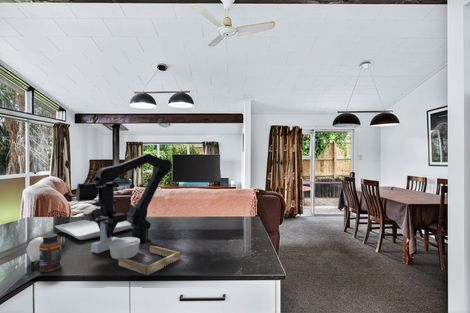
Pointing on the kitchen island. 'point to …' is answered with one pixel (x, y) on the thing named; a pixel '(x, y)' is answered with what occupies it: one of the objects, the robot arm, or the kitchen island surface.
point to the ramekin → (124, 247)
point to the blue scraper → (102, 240)
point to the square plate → (88, 229)
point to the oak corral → (146, 269)
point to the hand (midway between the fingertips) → (106, 237)
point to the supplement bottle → (50, 253)
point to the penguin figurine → (34, 249)
